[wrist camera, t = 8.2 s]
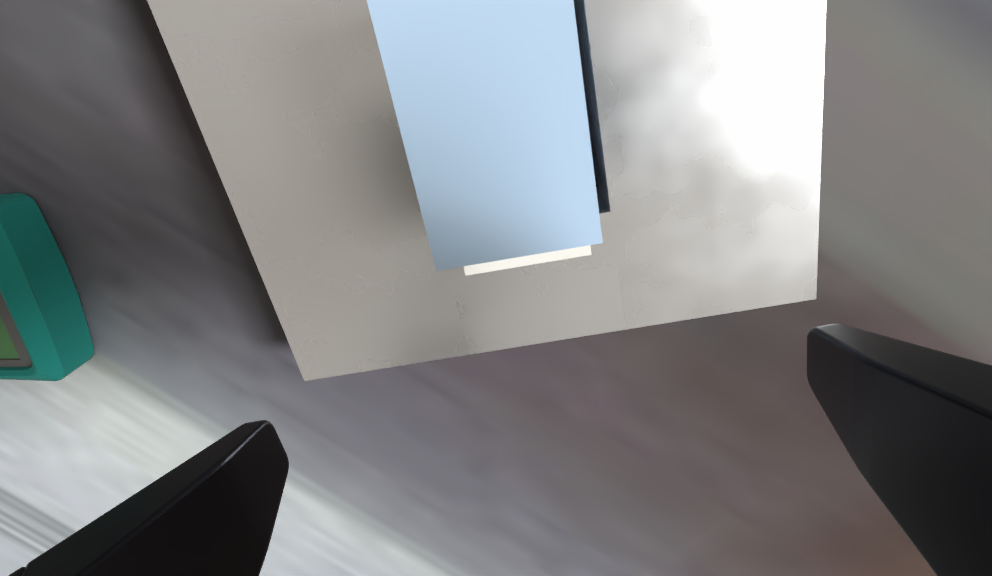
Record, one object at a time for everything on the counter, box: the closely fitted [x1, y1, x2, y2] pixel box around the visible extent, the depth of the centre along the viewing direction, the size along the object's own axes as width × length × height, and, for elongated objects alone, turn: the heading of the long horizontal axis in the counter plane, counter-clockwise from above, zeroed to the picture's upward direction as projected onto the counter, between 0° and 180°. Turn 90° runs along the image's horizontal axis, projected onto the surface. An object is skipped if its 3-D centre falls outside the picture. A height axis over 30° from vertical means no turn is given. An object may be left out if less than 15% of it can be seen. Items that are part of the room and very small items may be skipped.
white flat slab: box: [147, 0, 826, 381], centre depth 17 cm, size 18×16×3 cm
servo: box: [367, 0, 603, 276], centre depth 15 cm, size 4×10×8 cm, turn 11°
